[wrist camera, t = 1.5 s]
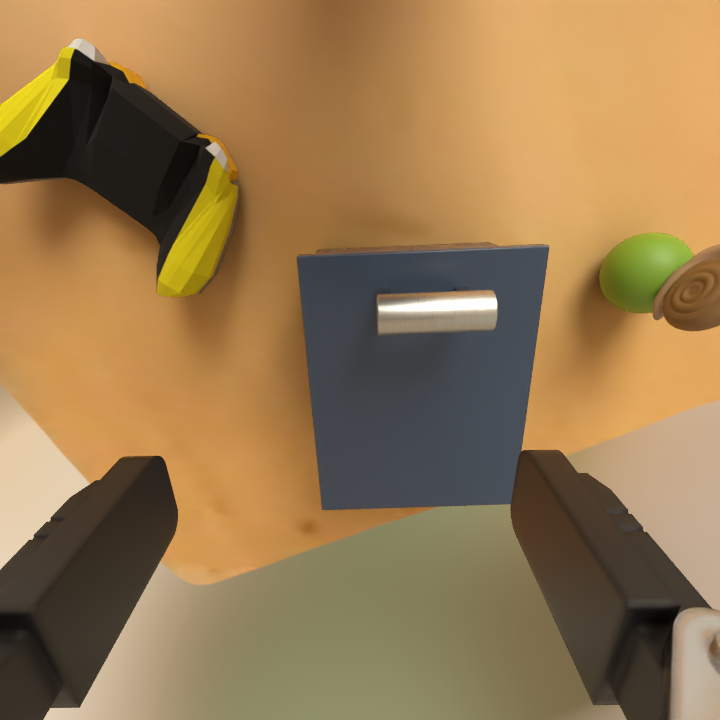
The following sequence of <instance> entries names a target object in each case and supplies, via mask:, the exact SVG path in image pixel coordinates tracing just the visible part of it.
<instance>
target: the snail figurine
mask: <svg viewBox="0 0 720 720" xmlns="http://www.w3.org/2000/svg"><path fill="white" fill-rule="evenodd" d="M599 282H600V287H601V290H602V292H603V294H604V296H605V297H606V298H607V300H608V301H609V302H610V303H612V304H613V305H614V306H616V307H618V308H619V309H622V310H624V311H627V312H632V313H652V312H653V318H654V319H655V320H659V319H661V318H662V317H663V316H664V317H665V319H666V320H667V322H668V323H669V324H670V325H672V326H673V327H675V328H677V329H680V330H685V331H701V330H706V329H710V328H713V327H716V326H719V325H720V244H718V245H715V246H712V247H709V248H707V249H705V250H703V251H701V252H700V253H698V254H697V255H695V256H694V254H693V252H692V251H691V249H690V248H689V247H688V246H687V245H686V244H685V243H684V242H683V241H681V240H680V239H678V238H676V237H674V236H671V235H667V234H662V233H646V234H640V235H637V236H634V237H631V238H629V239H627V240H625V241H623V242H621V243H620V244H618V245H617V246H616V247H615V248H614V249H613V250H612V251H611V252H610V253H609V254H608V255H607V257H606V258H605V260H604V262H603V264H602V266H601V269H600V275H599Z"/></svg>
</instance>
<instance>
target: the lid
mask: <svg viewBox="0 0 720 720" xmlns="http://www.w3.org/2000/svg"><path fill="white" fill-rule="evenodd" d="M548 252H549V246H548V245H544V244H532V245H509V246H486V247H462V248H439V249H416V250H393V251H369V252H346V253H323V254H300V255H298V256H297V265H298V275H299V285H300V295H301V305H302V315H303V325H304V335H305V345H306V355H307V365H308V375H309V385H310V394H311V404H312V414H313V424H314V434H315V444H316V454H317V464H318V474H319V484H320V494H321V504H322V510H343V509H374V508H405V507H436V506H468V505H495V504H496V505H497V504H498V505H499V504H511V500H512V493H513V487H514V481H515V475H516V469H517V462H518V457H519V454H520V452H521V450H522V442H523V435H524V428H525V420H526V413H527V406H528V398H529V391H530V384H531V377H532V369H533V362H534V355H535V347H536V340H537V333H538V325H539V318H540V311H541V304H542V296H543V289H544V282H545V274H546V267H547V260H548Z"/></svg>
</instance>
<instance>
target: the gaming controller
mask: <svg viewBox="0 0 720 720" xmlns="http://www.w3.org/2000/svg"><path fill="white" fill-rule="evenodd" d="M237 177H238V170H237V168H236V166H235V165H234V163H233V161H232V159H231V157H230V155H229V154H228V152H227V150H226V148H225V146H224V145H223V144H222V142H221V141H220V140H219V139H218V138H216V137H213V136H211V135H204V134H202V133H201V132H200V131H199V130H197V129H196V128H195V127H194V126H192V125H191V124H190V123H188V122H187V121H186V120H185V119H183V118H182V117H181V116H180V115H178V114H177V113H176V112H175V111H173V110H172V109H171V108H170V107H168V106H167V105H166V104H164V103H163V102H162V101H161V100H159V99H158V98H157V97H156V96H154V95H153V94H152V93H151V92H149V91H148V90H147V88H146V86H145V84H144V82H143V80H142V78H141V77H140V76H139V75H137V74H135V73H133V72H132V71H130V70H128V69H126V68H124V67H122V66H120V65H118V64H116V63H114V62H110V61H107V60H106V59H105V57H104V56H103V55H102V54H101V53H100V52H99V51H98V49H97V48H96V47H95V46H94V45H92V44H90V43H89V42H87V41H86V40H84V39H78V38H76V39H75V40H74V41H73V42H72V43H71V44H70V45H69V46H68V47H64V48H63V49H62V50H61V51H60V53H59V56H58V59H57V62H56V63H55V64H54V65H53V66H51V67H50V68H49V69H47V70H46V71H45V72H43V73H42V74H41V75H39V76H38V77H37V78H36V79H34V80H33V81H32V82H30V83H29V84H28V85H26V86H25V87H24V88H22V89H21V90H20V91H18V92H17V93H16V94H15V95H13V96H12V97H11V98H9V99H8V100H7V101H5V102H4V103H2V104H1V105H0V184H14V183H23V182H33V181H42V180H56V179H75V180H77V181H79V182H81V183H83V184H84V185H86V186H88V187H90V188H91V189H92V190H94V191H95V192H97V193H98V194H100V195H101V196H102V197H104V198H105V199H107V200H108V201H110V202H111V203H112V204H114V205H115V206H117V207H118V208H119V209H121V210H122V211H124V212H125V213H127V214H128V215H129V216H131V217H132V218H134V219H135V220H137V221H138V222H139V223H141V224H142V225H144V226H145V227H147V228H148V229H149V230H150V231H151V232H152V233H153V234H154V235H155V236H156V237H157V239H158V242H159V244H160V250H159V256H158V262H157V293H158V294H159V295H162V296H167V297H186V296H190V295H195V294H199V293H201V292H202V291H203V290H204V289H205V288H206V286H207V285H208V284H209V283H210V281H211V280H212V279H213V278H214V277H215V275H216V274H217V272H218V270H219V267H220V264H221V262H222V259H223V256H224V254H225V251H226V248H227V245H228V243H229V240H230V237H231V235H232V232H233V229H234V224H235V219H236V214H237V209H238V204H239V200H240V185H239V184H238V179H237Z"/></svg>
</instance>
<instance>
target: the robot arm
mask: <svg viewBox="0 0 720 720" xmlns="http://www.w3.org/2000/svg"><path fill="white" fill-rule="evenodd" d="M511 519H512V525H513V529H514V532H515V534H516V537H517V539H518V541H519V543H520V545H521V547H522V550H523V552H524V554H525V556H526V558H527V560H528V563H529V565H530V567H531V569H532V572H533V574H534V576H535V578H536V580H537V582H538V584H539V587H540V589H541V591H542V593H543V595H544V598H545V600H546V602H547V604H548V607H549V609H550V611H551V613H552V615H553V618H554V620H555V622H556V624H557V626H558V629H559V631H560V633H561V635H562V637H563V640H564V641H565V644H566V646H567V648H568V650H569V653H570V655H571V657H572V659H573V661H574V664H575V666H576V668H577V670H578V672H579V675H580V677H581V679H582V681H583V683H584V685H585V688H586V690H587V692H588V694H589V696H590V698H591V701H592V703H593V705H620V707H621V709H622V711H623V713H624V715H625V716H626V719H627V720H720V611H719V610H715V609H712V608H711V607H710V606H709V605H708V603H707V602H706V601H705V600H704V599H703V598H702V596H701V595H700V594H699V593H698V592H697V590H696V589H695V588H694V587H693V586H692V585H691V584H690V582H689V581H688V580H687V579H686V577H685V576H684V575H683V574H682V573H681V572H680V570H679V569H678V568H677V567H676V566H675V565H674V563H673V562H672V561H671V560H670V559H669V558H668V556H667V555H666V554H665V553H664V552H663V550H662V549H661V548H660V547H659V546H658V545H657V543H656V542H655V541H654V540H653V539H652V538H651V536H650V535H649V534H648V533H647V532H644V531H643V527H642V526H641V525H640V524H639V522H638V521H637V520H636V519H635V518H634V516H633V515H632V514H629V513H628V509H627V508H626V507H625V506H624V505H623V504H622V502H621V501H620V500H619V499H618V498H617V496H616V495H615V494H614V493H613V492H612V491H611V489H609V488H608V487H606V486H605V485H603V484H602V483H600V482H599V481H598V480H596V479H595V478H593V477H592V476H590V475H589V474H587V473H578V472H577V471H576V470H575V469H574V467H573V466H572V465H571V464H570V462H569V461H568V460H567V458H566V457H565V456H564V454H563V453H562V452H560V451H559V450H523V451H521V452H520V454H519V457H518V462H517V469H516V475H515V481H514V487H513V493H512V500H511ZM177 522H178V509H177V505H176V501H175V497H174V493H173V490H172V486H171V482H170V478H169V474H168V471H167V467H166V463H165V461H164V459H163V458H162V457H160V456H127V457H122V458H121V459H119V460H118V461H117V462H116V463H115V464H114V466H113V467H112V468H111V469H110V470H109V471H108V472H107V473H106V474H105V475H104V476H103V478H102V479H101V480H96V481H94V482H93V483H91V484H90V485H88V486H87V487H85V488H84V489H82V490H81V491H79V492H78V493H76V494H75V495H73V496H72V497H70V498H69V499H68V500H67V501H66V502H65V503H64V504H63V506H61V508H60V509H59V510H58V511H57V512H56V513H55V514H54V515H53V516H52V517H51V520H50V522H46V523H45V524H44V525H43V526H42V527H41V528H40V529H39V530H38V531H37V532H36V533H35V534H34V538H33V540H29V541H28V542H27V543H26V544H25V545H24V546H23V547H22V548H21V549H20V550H19V551H18V552H17V553H16V554H15V555H14V556H13V557H12V558H11V559H10V560H9V561H8V562H7V564H6V565H5V566H4V567H3V568H2V569H1V570H0V720H43V719H44V717H45V716H46V714H47V712H48V711H49V709H50V708H73V707H74V708H76V707H77V708H79V707H80V706H81V704H82V702H83V700H84V698H85V697H86V695H87V693H88V691H89V689H90V688H91V686H92V684H93V682H94V680H95V679H96V677H97V675H98V673H99V671H100V669H101V667H102V666H103V664H104V662H105V660H106V659H107V657H108V654H109V653H110V651H111V649H112V648H113V646H114V644H115V642H116V640H117V639H118V637H119V635H120V633H121V631H122V629H123V628H124V626H125V624H126V622H127V620H128V618H129V617H130V615H131V613H132V611H133V609H134V608H135V606H136V604H137V602H138V600H139V599H140V597H141V595H142V593H143V591H144V590H145V588H146V586H147V584H148V582H149V580H150V579H151V577H152V575H153V573H154V571H155V570H156V568H157V566H158V564H159V562H160V560H161V559H162V557H163V555H164V553H165V551H166V550H167V548H168V546H169V544H170V542H171V540H172V539H173V537H174V534H175V531H176V527H177Z"/></svg>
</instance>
